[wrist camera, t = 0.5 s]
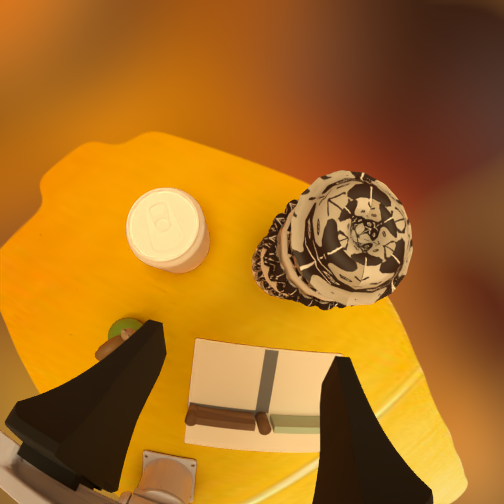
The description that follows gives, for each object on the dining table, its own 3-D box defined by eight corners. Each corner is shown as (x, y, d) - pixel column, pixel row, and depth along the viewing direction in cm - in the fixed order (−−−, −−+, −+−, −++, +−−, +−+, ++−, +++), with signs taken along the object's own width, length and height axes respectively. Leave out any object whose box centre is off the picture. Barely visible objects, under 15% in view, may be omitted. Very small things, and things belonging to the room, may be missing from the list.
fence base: (265, 421, 37) (270, 435, 32) (188, 412, 36) (184, 425, 32) (267, 411, 37) (272, 424, 33) (189, 402, 36) (185, 414, 32)
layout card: (319, 450, 37) (320, 452, 37) (184, 441, 36) (184, 442, 35) (341, 353, 39) (342, 354, 39) (196, 337, 38) (195, 338, 37)
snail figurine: (167, 336, 38) (144, 356, 26) (132, 362, 37) (99, 388, 25) (142, 303, 38) (110, 309, 26) (109, 330, 37) (68, 344, 25)
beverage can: (162, 282, 38) (136, 279, 27) (142, 226, 39) (112, 201, 27) (219, 260, 39) (216, 248, 28) (197, 204, 40) (187, 171, 28)
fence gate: (268, 421, 37) (273, 434, 33) (270, 413, 37) (275, 425, 33) (327, 423, 37) (337, 434, 33) (329, 415, 37) (339, 425, 34)
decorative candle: (309, 306, 40) (424, 326, 15) (242, 293, 39) (271, 301, 14) (321, 240, 41) (436, 181, 16) (256, 225, 40) (302, 134, 16)
